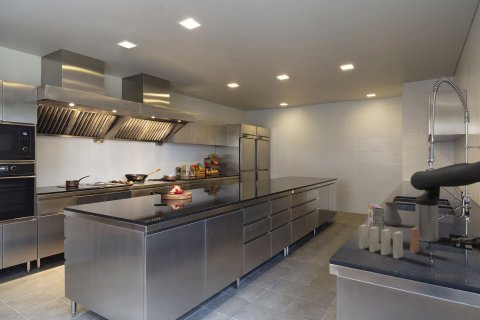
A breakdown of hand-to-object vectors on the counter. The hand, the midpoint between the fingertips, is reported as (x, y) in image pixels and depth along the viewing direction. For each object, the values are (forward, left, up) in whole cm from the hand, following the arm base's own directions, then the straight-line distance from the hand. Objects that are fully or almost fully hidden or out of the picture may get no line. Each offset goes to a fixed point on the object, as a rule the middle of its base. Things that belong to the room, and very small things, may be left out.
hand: (445, 237), depth 114 cm
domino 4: (+12, -12, -9) cm, 19 cm away
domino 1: (+12, -27, -9) cm, 31 cm away
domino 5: (0, -11, -9) cm, 14 cm away
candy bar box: (-6, -32, -9) cm, 33 cm away
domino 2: (+12, -22, -9) cm, 27 cm away
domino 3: (+12, -17, -9) cm, 23 cm away
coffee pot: (-46, -44, -9) cm, 64 cm away
